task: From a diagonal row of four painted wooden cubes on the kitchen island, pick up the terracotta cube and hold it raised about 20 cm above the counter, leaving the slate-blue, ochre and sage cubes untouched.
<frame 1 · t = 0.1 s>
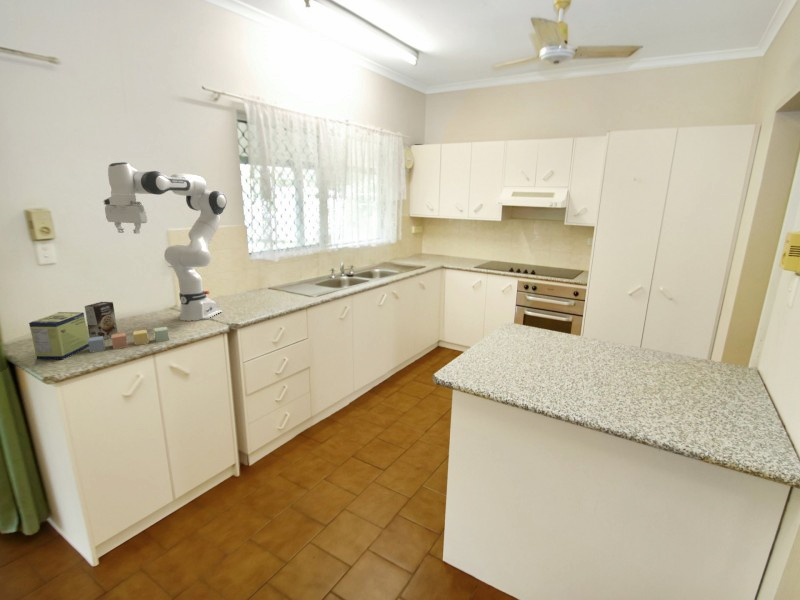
hand: (128, 233, 179), 48 cm above the worktop, tool pointing down, fingers open, 8 cm apart
slate block: (97, 349, 172), on the worktop
ochre block: (141, 342, 181), on the worktop
sage block: (162, 339, 185), on the worktop
terracotta block: (120, 346, 176), on the worktop
protein box: (64, 353, 168), on the worktop
coffee box: (104, 337, 186), on the worktop
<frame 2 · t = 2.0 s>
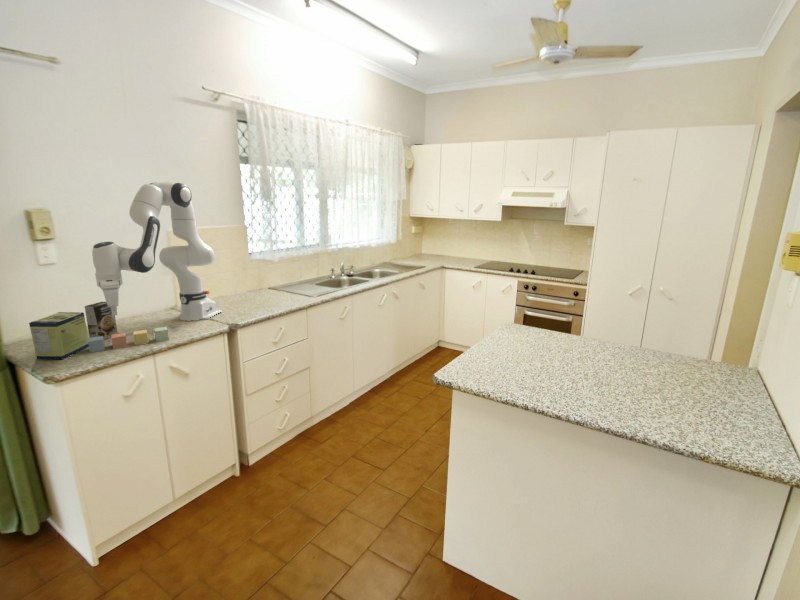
hand: (114, 312, 172), 15 cm above the worktop, tool pointing down, fingers open, 8 cm apart
nothing on the worktop moved.
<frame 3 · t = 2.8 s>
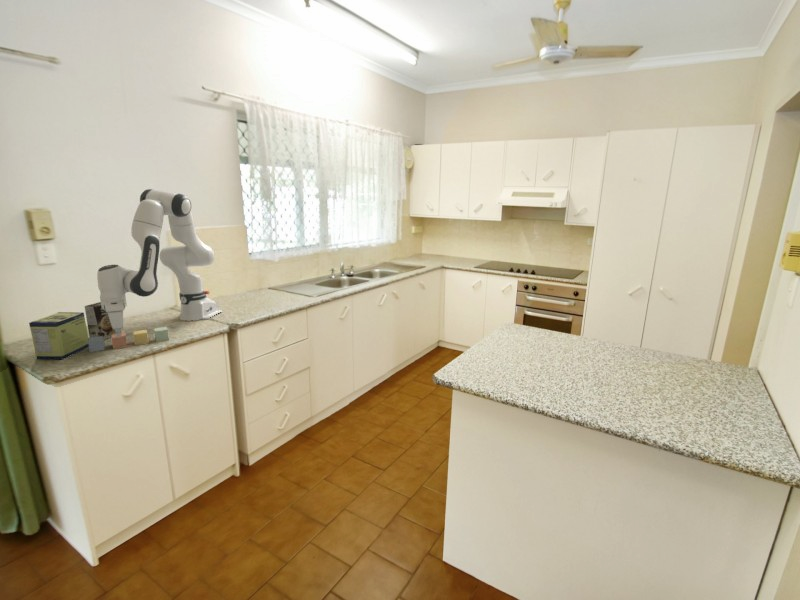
hand: (118, 334, 174), 6 cm above the worktop, tool pointing down, fingers open, 8 cm apart
nothing on the worktop moved.
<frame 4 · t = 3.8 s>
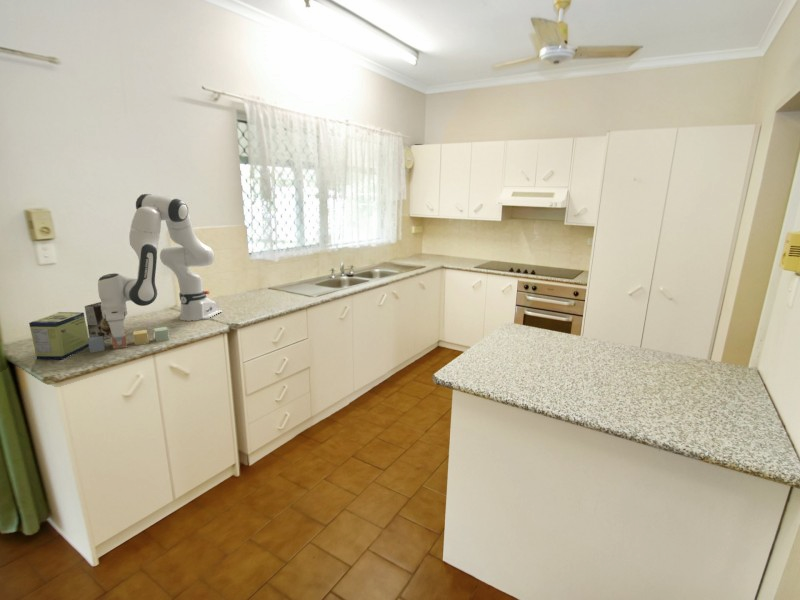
hand: (119, 342, 176), 2 cm above the worktop, tool pointing down, fingers closed on terracotta block, 5 cm apart
terracotta block: (120, 345, 176), on the worktop, touching gripper
everything else where it was.
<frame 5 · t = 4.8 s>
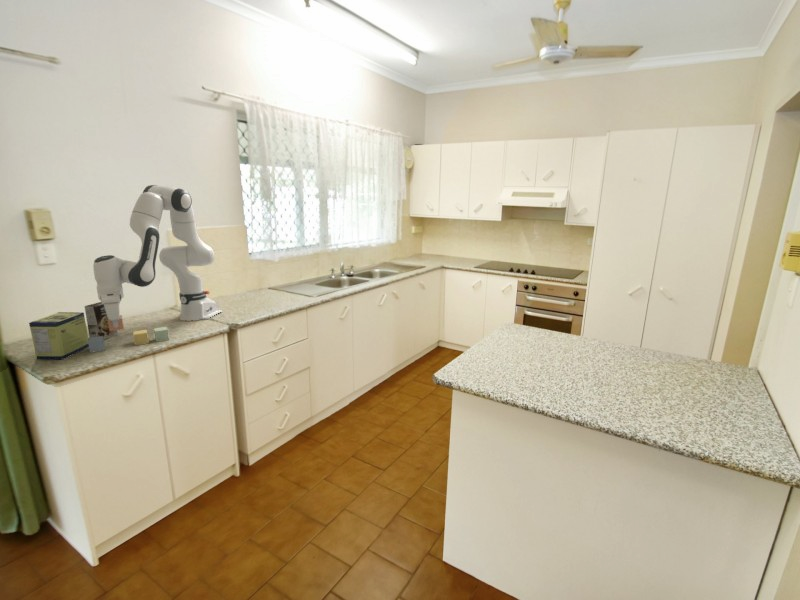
hand: (116, 324, 175), 9 cm above the worktop, tool pointing down, fingers closed on terracotta block, 5 cm apart
terracotta block: (116, 328, 175), point 8 cm above the worktop, touching gripper
everything else where it was.
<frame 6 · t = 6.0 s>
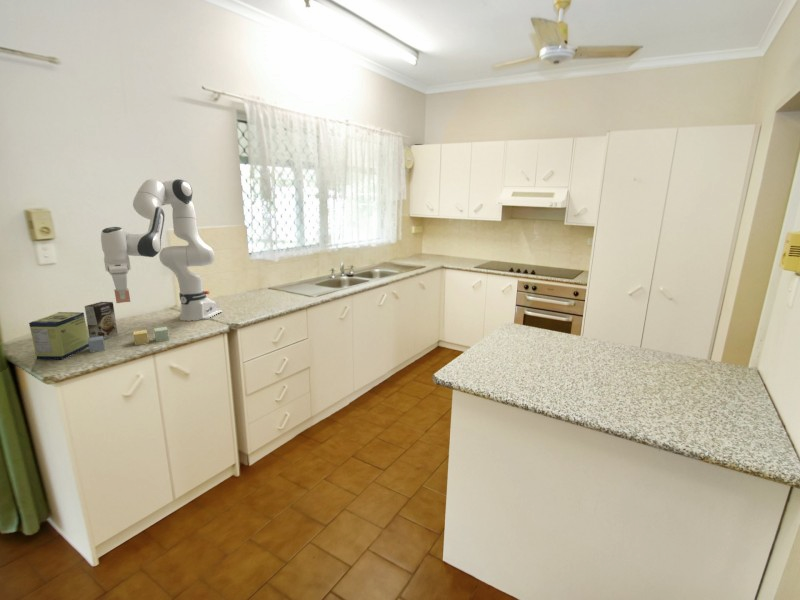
hand: (122, 297, 175), 21 cm above the worktop, tool pointing down, fingers closed on terracotta block, 5 cm apart
terracotta block: (123, 301, 175), point 19 cm above the worktop, touching gripper
everything else where it was.
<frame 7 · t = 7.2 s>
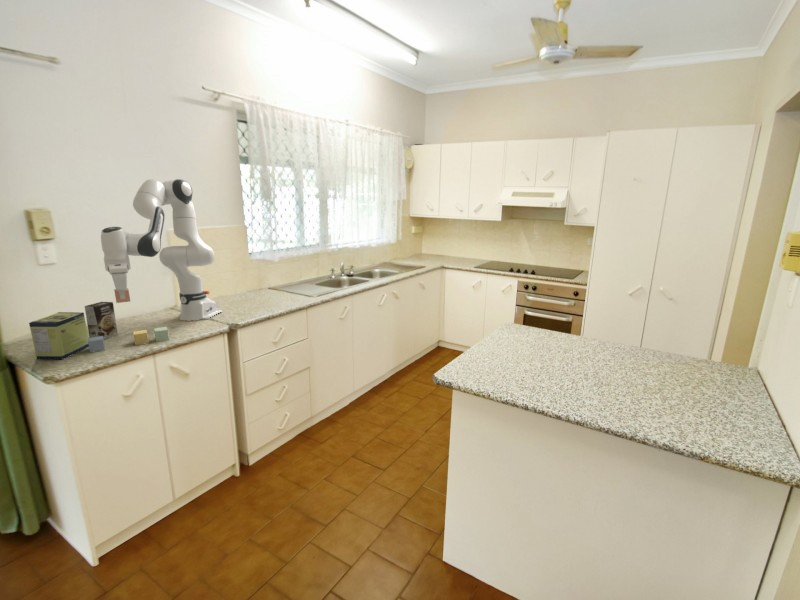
hand: (122, 297, 175), 21 cm above the worktop, tool pointing down, fingers closed on terracotta block, 5 cm apart
terracotta block: (123, 301, 175), point 19 cm above the worktop, touching gripper
everything else where it was.
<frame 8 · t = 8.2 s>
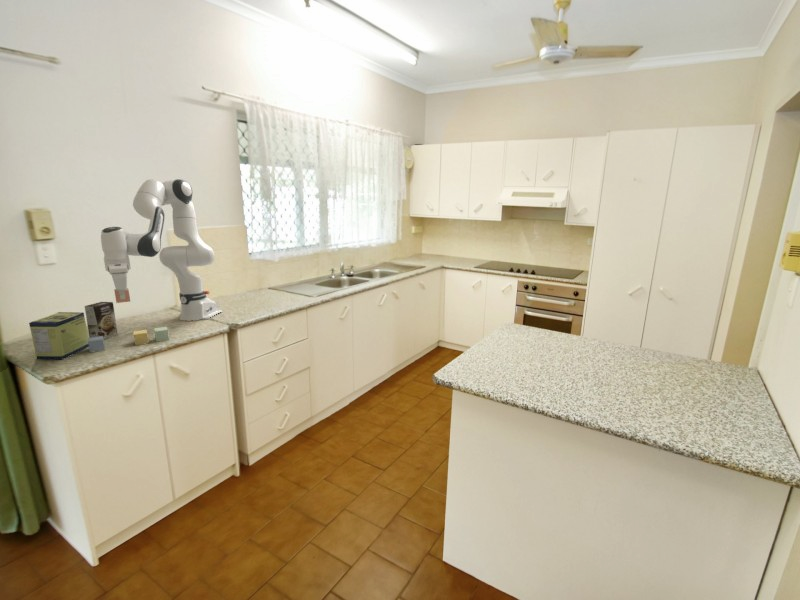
hand: (122, 297, 175), 21 cm above the worktop, tool pointing down, fingers closed on terracotta block, 5 cm apart
terracotta block: (123, 301, 175), point 19 cm above the worktop, touching gripper
everything else where it was.
at the end: the gripper is holding terracotta block; terracotta block point 19.4 cm above the worktop; ochre block moved 0.1 cm from its start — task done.
